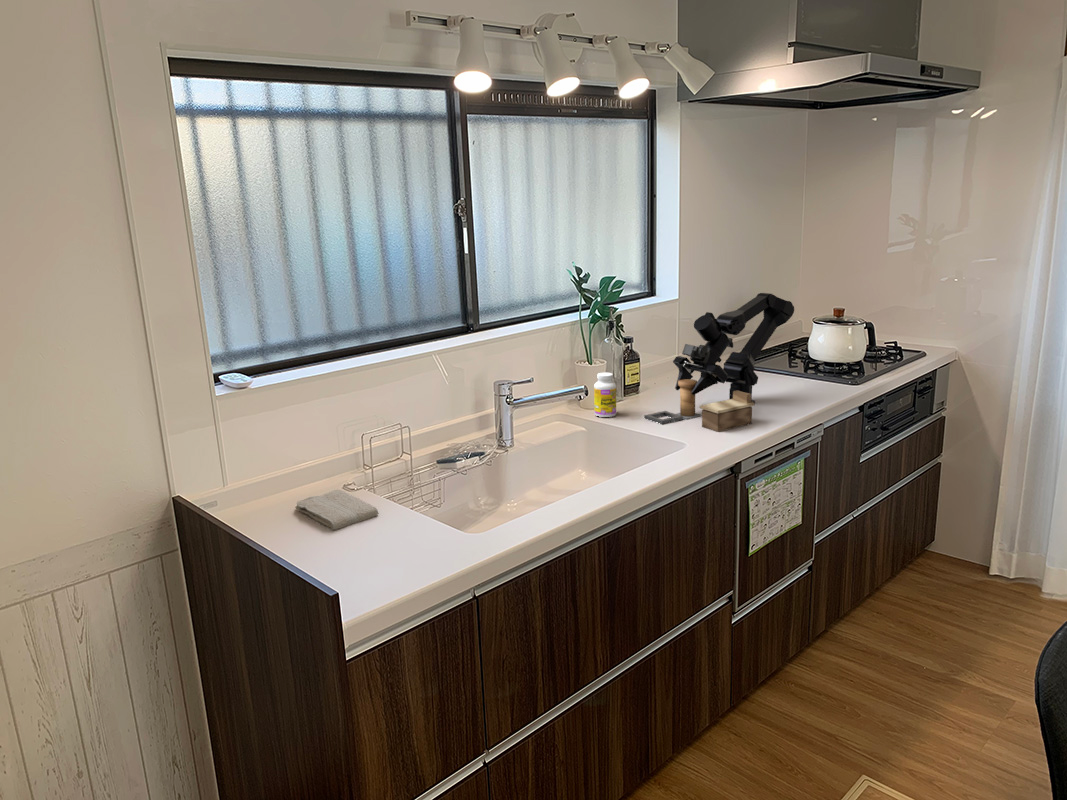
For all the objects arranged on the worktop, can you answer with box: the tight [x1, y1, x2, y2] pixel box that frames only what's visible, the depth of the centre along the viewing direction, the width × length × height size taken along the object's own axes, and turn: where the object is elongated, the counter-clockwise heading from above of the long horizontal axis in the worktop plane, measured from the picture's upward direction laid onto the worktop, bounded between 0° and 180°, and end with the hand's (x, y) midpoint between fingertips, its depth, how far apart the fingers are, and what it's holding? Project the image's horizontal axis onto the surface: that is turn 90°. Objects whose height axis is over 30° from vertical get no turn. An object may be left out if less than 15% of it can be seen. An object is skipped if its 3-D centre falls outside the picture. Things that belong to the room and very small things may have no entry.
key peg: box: [678, 378, 698, 417], centre depth 247 cm, size 6×6×10 cm
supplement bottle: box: [593, 371, 617, 418], centre depth 250 cm, size 7×7×13 cm
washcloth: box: [294, 489, 379, 531], centre depth 183 cm, size 12×18×3 cm, turn 44°
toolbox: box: [701, 406, 753, 433], centre depth 236 cm, size 13×6×5 cm, turn 121°
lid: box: [699, 390, 755, 414], centre depth 235 cm, size 14×7×3 cm, turn 121°
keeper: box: [643, 410, 684, 425], centre depth 245 cm, size 8×8×1 cm
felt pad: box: [676, 412, 702, 420], centre depth 248 cm, size 6×6×1 cm
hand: (684, 391), depth 245 cm, fingers open, 7 cm apart
